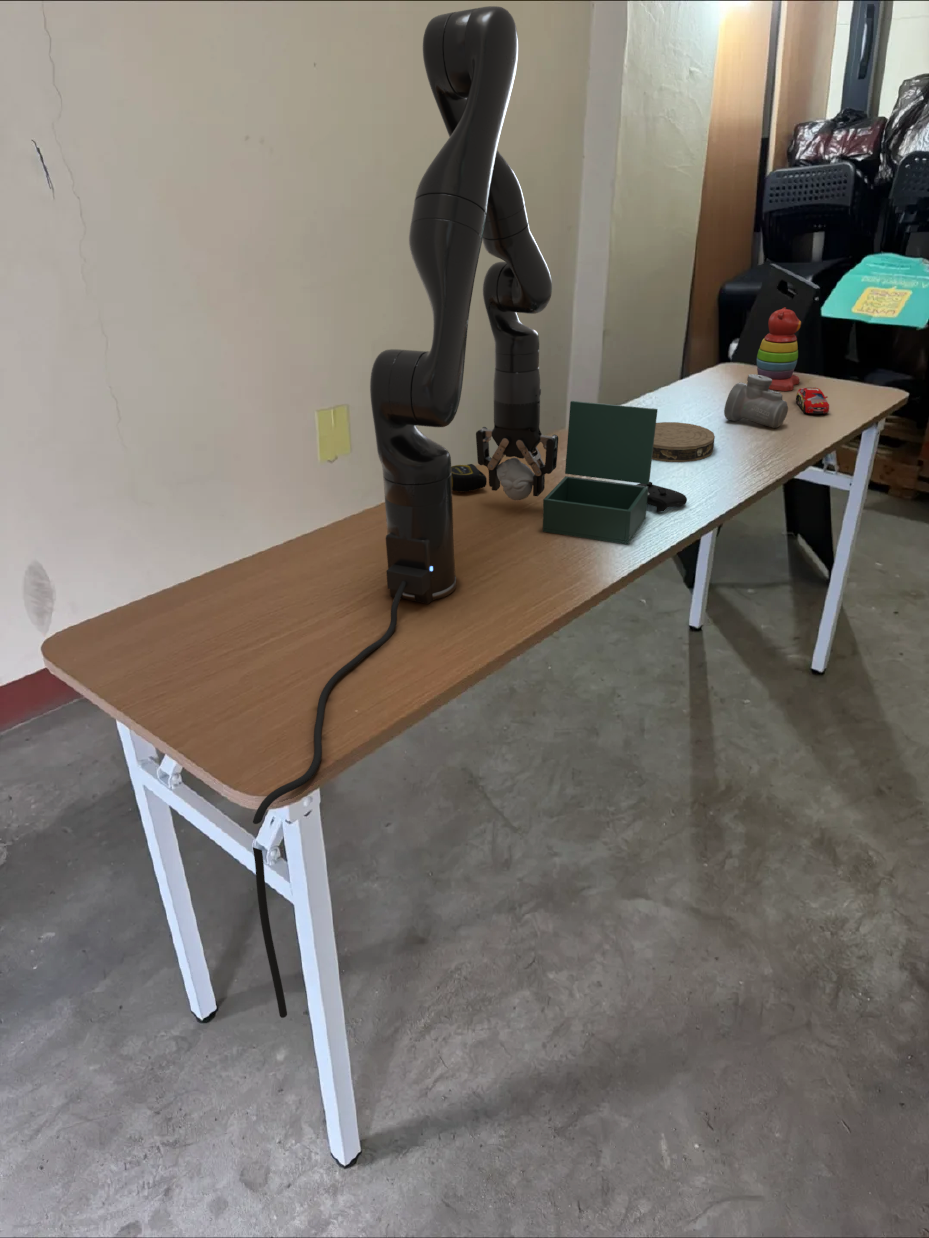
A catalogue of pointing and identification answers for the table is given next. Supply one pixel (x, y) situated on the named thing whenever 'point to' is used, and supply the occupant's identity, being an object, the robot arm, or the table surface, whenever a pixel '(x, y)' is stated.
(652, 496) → the game controller
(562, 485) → the chest
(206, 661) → the table surface
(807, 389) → the race car
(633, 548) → the table surface
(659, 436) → the wood slice coaster
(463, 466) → the tape measure
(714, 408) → the table surface
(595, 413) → the lid
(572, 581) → the table surface
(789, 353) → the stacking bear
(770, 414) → the pipe fitting
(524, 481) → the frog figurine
